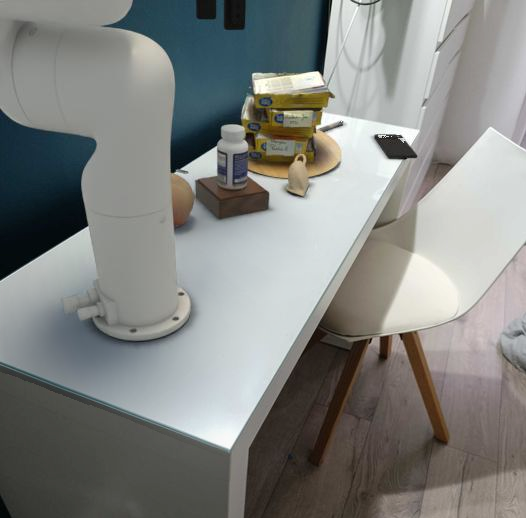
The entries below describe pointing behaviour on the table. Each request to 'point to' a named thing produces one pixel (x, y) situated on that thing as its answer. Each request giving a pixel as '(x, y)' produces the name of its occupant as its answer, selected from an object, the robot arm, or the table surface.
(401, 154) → the smartphone
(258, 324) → the table surface
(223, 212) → the block
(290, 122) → the boxes on round tray
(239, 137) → the pill bottle
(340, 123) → the pen
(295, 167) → the decorative ornament
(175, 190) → the fruit
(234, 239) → the table surface
